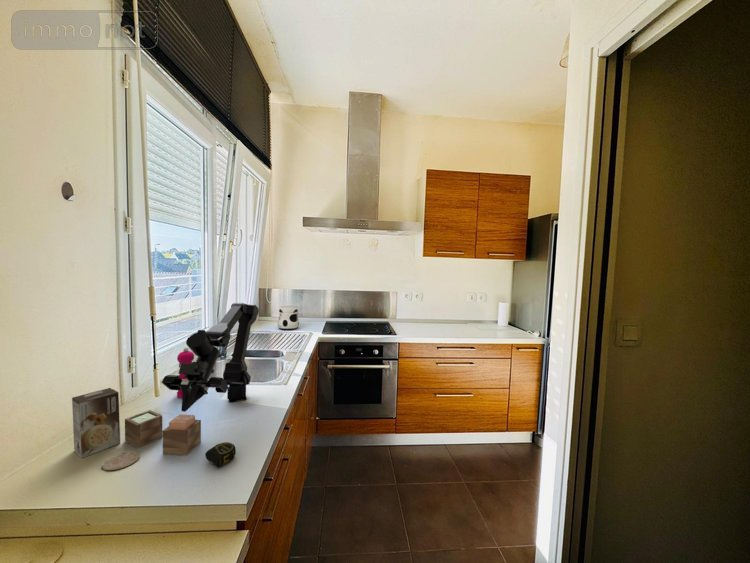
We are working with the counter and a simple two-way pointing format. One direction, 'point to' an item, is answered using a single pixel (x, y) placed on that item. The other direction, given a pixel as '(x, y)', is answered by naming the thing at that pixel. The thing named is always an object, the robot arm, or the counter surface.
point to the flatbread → (121, 461)
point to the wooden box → (181, 439)
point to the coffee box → (96, 421)
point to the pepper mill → (184, 358)
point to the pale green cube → (143, 418)
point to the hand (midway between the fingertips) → (183, 411)
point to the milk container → (288, 317)
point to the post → (143, 429)
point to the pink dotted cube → (182, 422)
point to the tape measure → (221, 454)
